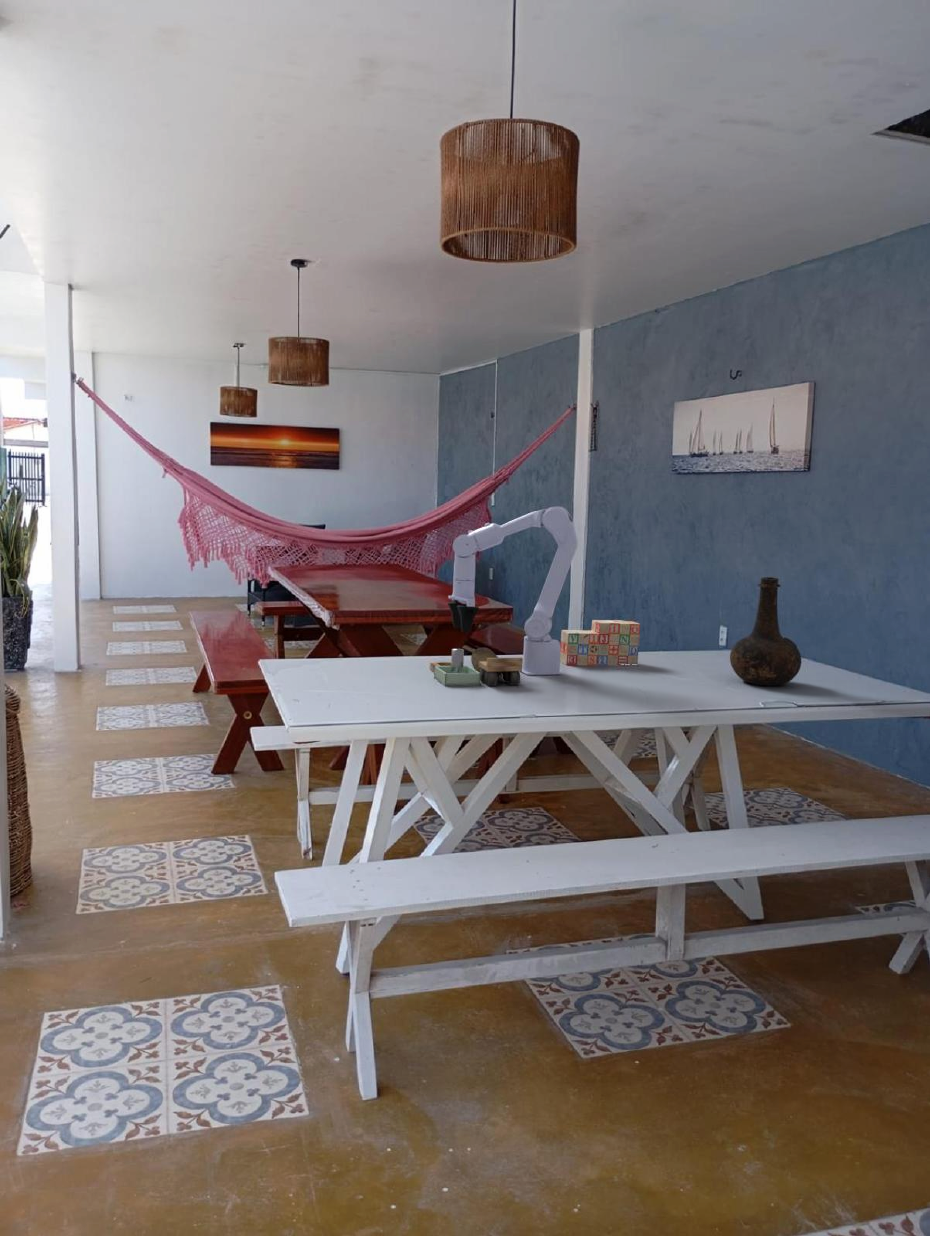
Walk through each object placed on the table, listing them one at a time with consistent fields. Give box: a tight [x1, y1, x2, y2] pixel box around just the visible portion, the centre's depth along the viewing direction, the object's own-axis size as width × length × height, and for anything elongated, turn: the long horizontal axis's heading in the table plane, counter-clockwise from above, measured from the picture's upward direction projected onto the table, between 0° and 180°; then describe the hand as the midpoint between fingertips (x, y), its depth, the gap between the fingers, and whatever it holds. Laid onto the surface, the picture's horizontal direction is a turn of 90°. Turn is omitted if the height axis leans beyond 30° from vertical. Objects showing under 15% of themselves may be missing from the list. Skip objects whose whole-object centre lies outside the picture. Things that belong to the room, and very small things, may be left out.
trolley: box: [479, 657, 523, 687], centre depth 241 cm, size 9×8×7 cm
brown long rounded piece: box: [470, 647, 503, 679], centre depth 251 cm, size 15×7×7 cm, turn 14°
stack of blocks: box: [560, 619, 641, 667], centre depth 276 cm, size 21×6×12 cm, turn 102°
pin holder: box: [429, 661, 451, 673], centre depth 254 cm, size 7×7×2 cm
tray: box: [433, 665, 481, 687], centre depth 241 cm, size 9×10×3 cm
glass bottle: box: [729, 576, 802, 687], centre depth 255 cm, size 18×18×28 cm
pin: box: [450, 648, 465, 673], centre depth 241 cm, size 3×3×8 cm
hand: (461, 630), depth 261 cm, fingers open, 7 cm apart
